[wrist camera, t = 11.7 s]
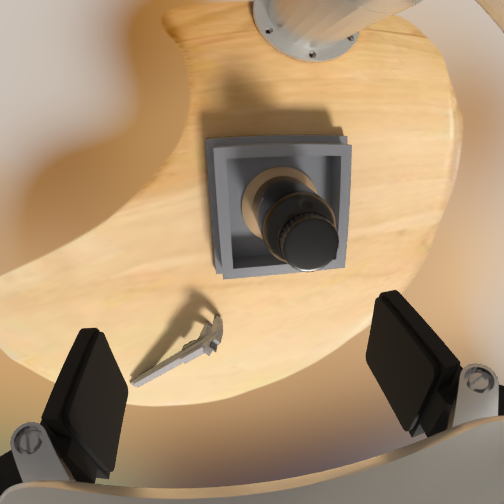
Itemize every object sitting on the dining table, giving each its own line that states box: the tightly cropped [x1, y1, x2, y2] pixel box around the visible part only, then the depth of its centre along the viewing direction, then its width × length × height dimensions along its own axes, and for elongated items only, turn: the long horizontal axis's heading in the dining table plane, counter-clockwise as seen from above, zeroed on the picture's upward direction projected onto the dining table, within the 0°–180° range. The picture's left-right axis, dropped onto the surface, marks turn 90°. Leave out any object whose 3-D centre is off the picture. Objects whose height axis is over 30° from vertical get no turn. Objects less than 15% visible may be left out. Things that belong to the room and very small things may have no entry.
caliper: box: [130, 315, 223, 387], centre depth 41 cm, size 20×1×6 cm, turn 131°
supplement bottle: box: [253, 176, 339, 272], centre depth 30 cm, size 7×7×12 cm
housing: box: [205, 135, 352, 279], centre depth 35 cm, size 16×16×4 cm
